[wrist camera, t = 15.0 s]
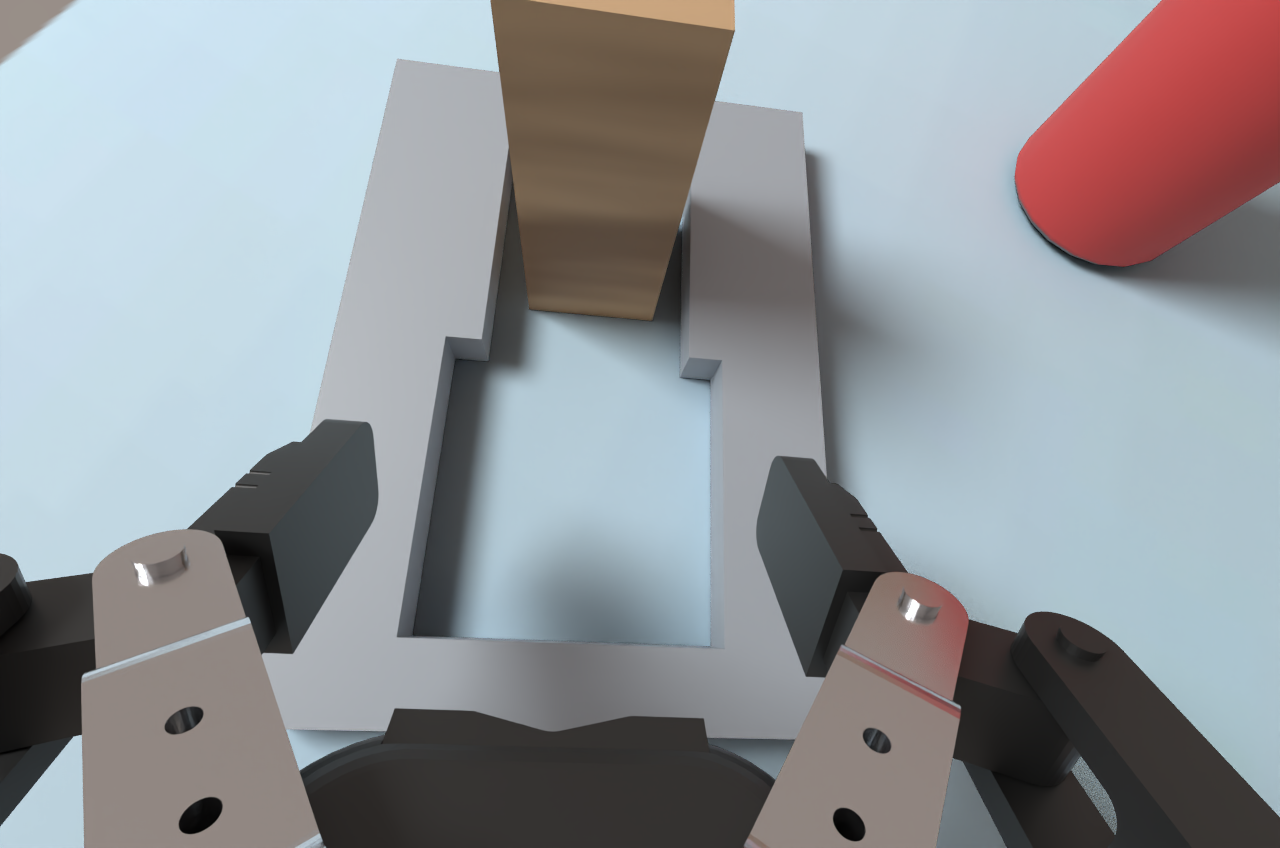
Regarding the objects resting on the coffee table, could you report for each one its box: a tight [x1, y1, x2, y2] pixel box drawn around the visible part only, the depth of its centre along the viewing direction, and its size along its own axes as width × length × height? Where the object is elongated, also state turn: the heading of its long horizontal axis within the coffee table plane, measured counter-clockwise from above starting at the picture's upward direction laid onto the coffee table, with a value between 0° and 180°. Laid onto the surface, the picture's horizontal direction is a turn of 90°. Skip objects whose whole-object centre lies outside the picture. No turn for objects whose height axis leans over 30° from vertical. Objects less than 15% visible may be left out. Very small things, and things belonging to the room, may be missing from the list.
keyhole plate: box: [262, 59, 827, 740], centre depth 17 cm, size 20×14×2 cm
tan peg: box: [491, 0, 735, 321], centre depth 15 cm, size 4×4×10 cm
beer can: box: [1015, 0, 1280, 267], centre depth 17 cm, size 7×7×12 cm
